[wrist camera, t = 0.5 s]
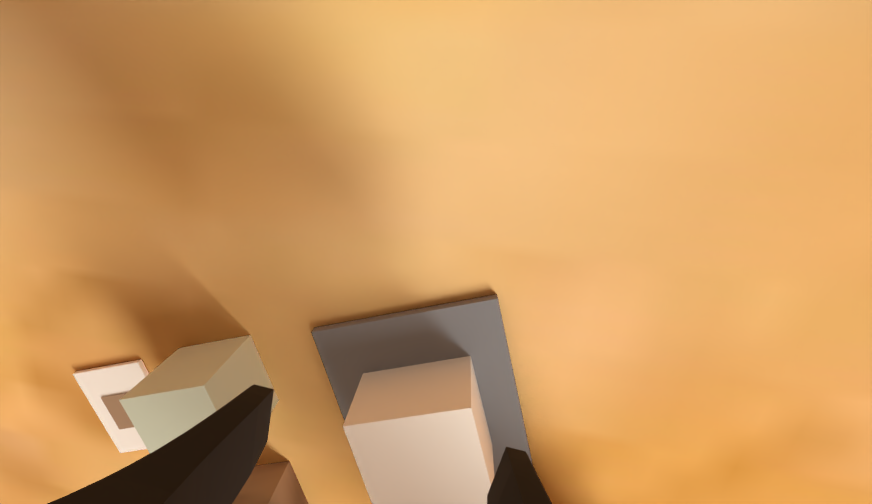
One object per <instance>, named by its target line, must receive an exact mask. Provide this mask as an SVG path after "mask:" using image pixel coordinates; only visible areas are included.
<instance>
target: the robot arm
mask: <svg viewBox="0 0 872 504" xmlns="http://www.w3.org/2000/svg"><path fill="white" fill-rule="evenodd" d="M273 393H274V389H271V388H267V387H263V386H259V385H255V384H254V385H252V386H250V387H249V388H247V389H246V390H245V391H243V392H242V393H241V394H239V395H238V396H237V397H235V398H234V399H232V400H231V401H230V402H228V403H227V404H226V405H224V406H223V407H221V408H220V409H219V410H217V411H216V412H214V413H213V414H211V415H210V416H209V417H207V418H206V419H204V420H203V421H201V422H200V423H198V424H197V425H195V426H194V427H192V428H191V429H189V430H188V431H186V432H185V433H183V434H181V435H180V436H178V437H177V438H175V439H173V440H172V441H170V442H168V443H167V444H165V445H164V446H162V447H160V448H159V449H157V450H155V451H154V452H152V453H150V454H148V455H147V456H145V457H143V458H141V459H140V460H138V461H136V462H134V463H132V464H130V465H129V466H127V467H125V468H123V469H121V470H119V471H117V472H115V473H113V474H111V475H109V476H107V477H105V478H103V479H101V480H99V481H97V482H95V483H93V484H91V485H88V486H86V487H84V488H82V489H80V490H78V491H76V492H73V493H71V494H69V495H67V496H65V497H62V498H60V499H58V500H55V501H53V502H50V503H48V504H232V503H233V502H234V500H235V499H236V497H237V496H238V494H239V492H240V491H241V489H242V488H243V486H244V484H245V483H246V481H247V480H248V478H249V476H250V475H251V473H252V471H253V469H254V467H255V465H256V463H257V461H258V459H259V457H260V455H261V453H262V451H263V449H264V447H265V445H266V443H267V439H268V431H269V423H270V416H271V408H272V400H273ZM487 504H552V503H551V501H550V499H549V497H548V495H547V493H546V491H545V489H544V487H543V485H542V483H541V481H540V479H539V477H538V475H537V473H536V471H535V469H534V467H533V465H532V463H531V461H530V459H529V457H528V455H527V453H526V451H522V450H518V449H514V448H510V447H506V448H505V451H504V453H503V456H502V458H501V461H500V464H499V466H498V469H497V471H496V474H495V476H494V479H493V482H492V484H491V487H490V489H489V492H488V495H487Z"/></svg>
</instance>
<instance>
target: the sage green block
mask: <svg viewBox="0 0 872 504" xmlns="http://www.w3.org/2000/svg"><path fill="white" fill-rule="evenodd" d="M254 384H255V385H259V386H263V387H267V388H271V389H274V388H273V386H272V383H271V381H270V379H269V376H268V374H267V372H266V369H265V367H264V365H263V362H262V360H261V358H260V355H259V353H258V351H257V349H256V346H255V344H254V342H253V339H252V337H251V335H247V336H241V337H236V338H231V339H225V340H220V341H214V342H209V343H204V344H198V345H193V346H187V347H182V348H179V349H177V350H176V351H175V352H174V353H173V354H172V355H170V356H169V357H168V358H167V359H166V360H165V361H163V362H162V363H161V364H160V365H159V366H158V367H157V368H155V369H154V370H153V371H152V372H151V373H150V374H148V375H147V376H146V377H145V378H144V379H143V380H141V381H140V382H139V383H138V384H137V385H136V386H134V387H133V388H132V389H131V390H130V391H129V392H128V393H126V394H125V395H124V396H123V397H122V398H121V399H119V401H120V403H121V405H122V406H123V408H124V410H125V411H126V413H127V415H128V417H129V418H130V420H131V422H132V423H133V425H134V427H135V429H136V430H137V432H138V434H139V436H140V437H141V439H142V441H143V442H144V444H145V446H146V448H147V449H148V451H149V453H152V452H154V451H155V450H157V449H159V448H160V447H162V446H164V445H165V444H167V443H168V442H170V441H172V440H173V439H175V438H177V437H178V436H180V435H181V434H183V433H185V432H186V431H188V430H189V429H191V428H192V427H194V426H195V425H197V424H198V423H200V422H201V421H203V420H204V419H206V418H207V417H209V416H210V415H211V414H213V413H214V412H216V411H217V410H219V409H220V408H221V407H223V406H224V405H226V404H227V403H228V402H230V401H231V400H232V399H234V398H235V397H237V396H238V395H239V394H241V393H242V392H243V391H245V390H246V389H247V388H249V387H250V386H252V385H254ZM278 401H279V400H278V397H277V395H276V393H275V390H274V393H273V400H272V408H271V412H272V411H273V409H274V408H275V406H276V404H277V403H278Z"/></svg>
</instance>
